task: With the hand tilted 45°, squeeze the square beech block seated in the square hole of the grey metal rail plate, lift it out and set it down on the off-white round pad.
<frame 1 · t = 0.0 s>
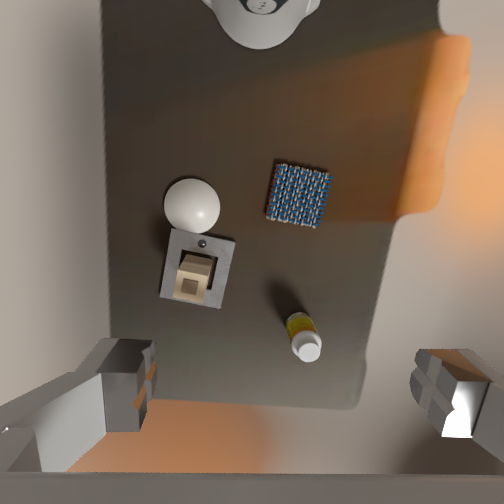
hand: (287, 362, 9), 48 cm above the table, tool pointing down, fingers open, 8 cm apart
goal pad: (192, 206, 56), on the table
rail plate: (197, 268, 59), on the table
woven mat: (296, 195, 56), on the table
supplement bottle: (298, 322, 63), on the table
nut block: (197, 268, 59), resting in rail plate
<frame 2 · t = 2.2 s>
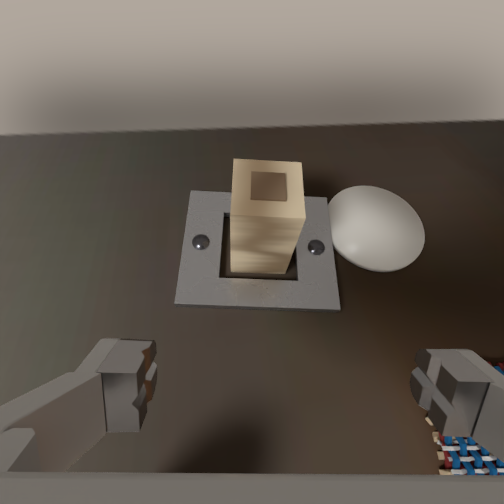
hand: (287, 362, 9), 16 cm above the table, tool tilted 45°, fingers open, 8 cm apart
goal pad: (372, 227, 31), on the table
rail plate: (258, 248, 29), on the table
woven mat: (488, 436, 23), on the table
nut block: (258, 249, 29), resting in rail plate
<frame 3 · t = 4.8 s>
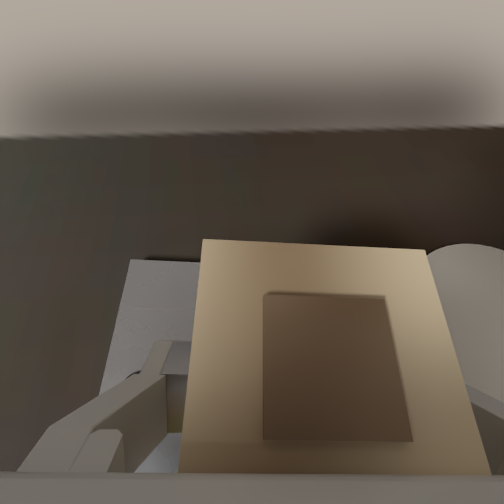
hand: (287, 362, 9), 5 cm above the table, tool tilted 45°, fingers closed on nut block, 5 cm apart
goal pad: (495, 334, 16), on the table
rail plate: (269, 395, 13), on the table
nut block: (269, 395, 13), resting in rail plate, touching gripper
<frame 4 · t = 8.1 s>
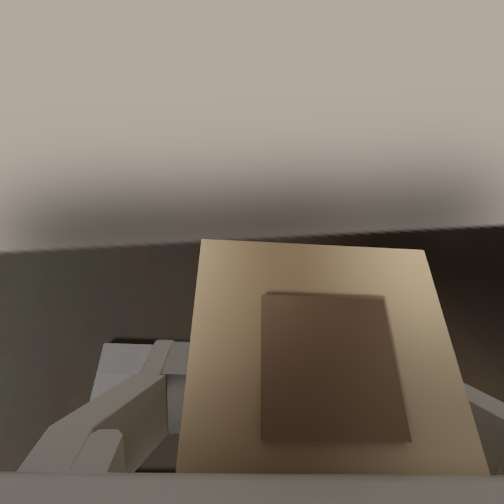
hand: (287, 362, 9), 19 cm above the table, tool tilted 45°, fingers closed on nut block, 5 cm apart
rail plate: (178, 424, 24), on the table
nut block: (268, 395, 13), point 14 cm above the table, touching gripper
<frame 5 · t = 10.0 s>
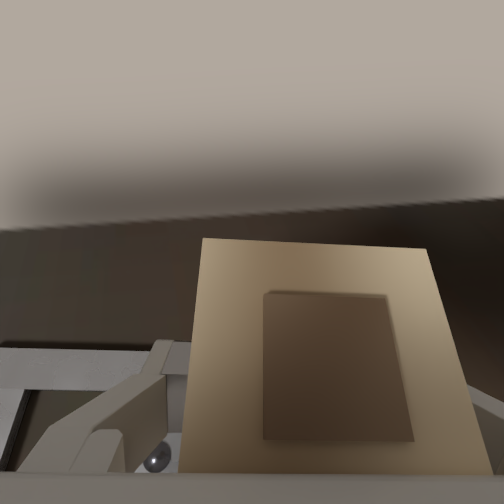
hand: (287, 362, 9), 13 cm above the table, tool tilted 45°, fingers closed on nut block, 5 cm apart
rail plate: (70, 454, 19), on the table
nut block: (269, 395, 13), point 8 cm above the table, touching gripper
when the fingers open (6 cm above the table, at t = 11.6 s): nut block stays where it is, resting on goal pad.
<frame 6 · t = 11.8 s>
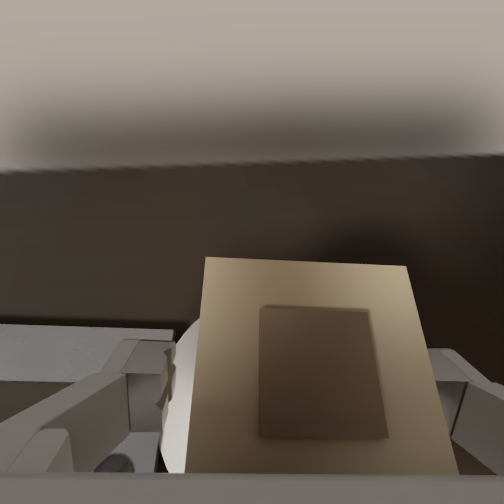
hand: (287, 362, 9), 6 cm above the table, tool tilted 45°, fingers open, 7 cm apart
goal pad: (264, 397, 15), on the table
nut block: (267, 396, 14), point 1 cm above the table, touching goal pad
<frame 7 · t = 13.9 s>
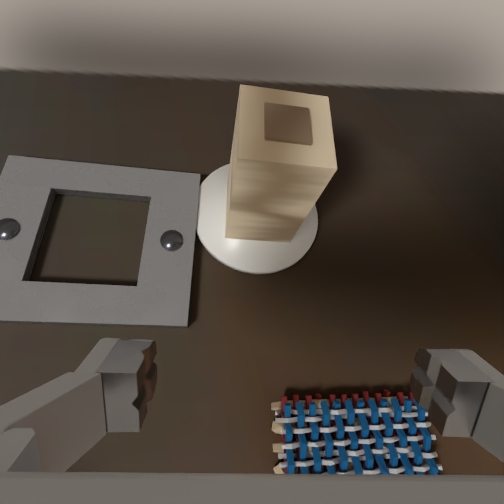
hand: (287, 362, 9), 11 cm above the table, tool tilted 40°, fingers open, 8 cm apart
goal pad: (255, 215, 25), on the table
rail plate: (95, 239, 22), on the table
woven mat: (352, 483, 19), on the table
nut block: (257, 211, 24), point 1 cm above the table, touching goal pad
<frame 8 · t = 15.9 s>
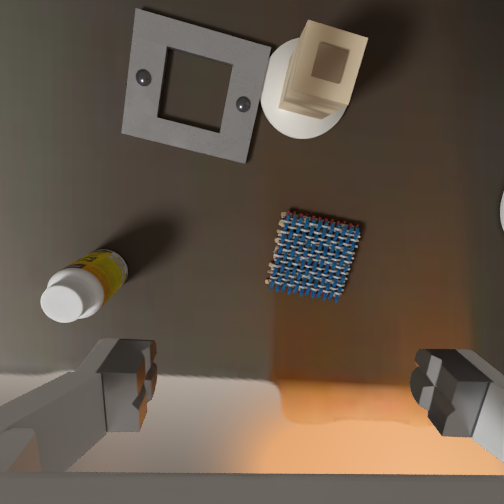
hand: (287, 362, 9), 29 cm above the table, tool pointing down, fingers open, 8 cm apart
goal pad: (304, 91, 34), on the table
rail plate: (195, 93, 33), on the table
woven mat: (310, 254, 40), on the table
supplement bottle: (107, 268, 39), on the table
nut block: (305, 89, 33), point 1 cm above the table, touching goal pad
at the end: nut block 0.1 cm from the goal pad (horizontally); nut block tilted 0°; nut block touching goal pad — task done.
